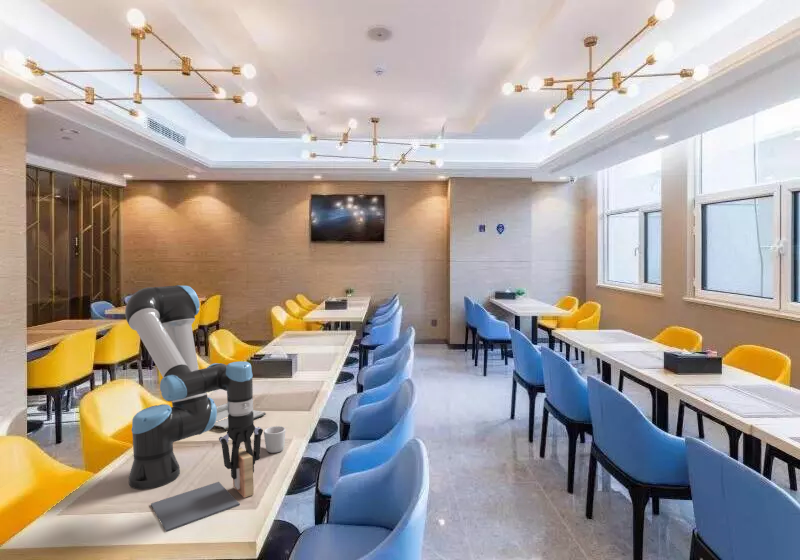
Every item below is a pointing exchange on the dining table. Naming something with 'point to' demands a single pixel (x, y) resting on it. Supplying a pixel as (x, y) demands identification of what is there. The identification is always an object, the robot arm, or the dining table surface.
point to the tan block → (245, 473)
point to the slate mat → (193, 505)
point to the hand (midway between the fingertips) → (243, 485)
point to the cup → (274, 439)
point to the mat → (223, 412)
